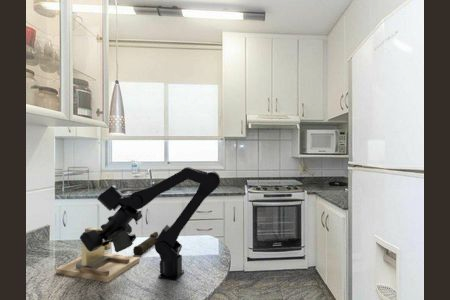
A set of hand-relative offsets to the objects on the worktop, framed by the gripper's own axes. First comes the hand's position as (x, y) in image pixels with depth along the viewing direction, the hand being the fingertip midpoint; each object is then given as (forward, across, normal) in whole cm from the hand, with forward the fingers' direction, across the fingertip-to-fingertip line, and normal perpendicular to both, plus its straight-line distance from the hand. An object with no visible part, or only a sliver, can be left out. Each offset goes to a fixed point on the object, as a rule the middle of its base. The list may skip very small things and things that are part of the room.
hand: (94, 248), depth 85 cm
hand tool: (+2, +25, -9) cm, 26 cm away
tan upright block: (+5, +3, -3) cm, 7 cm away
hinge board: (+6, +3, -5) cm, 8 cm away
